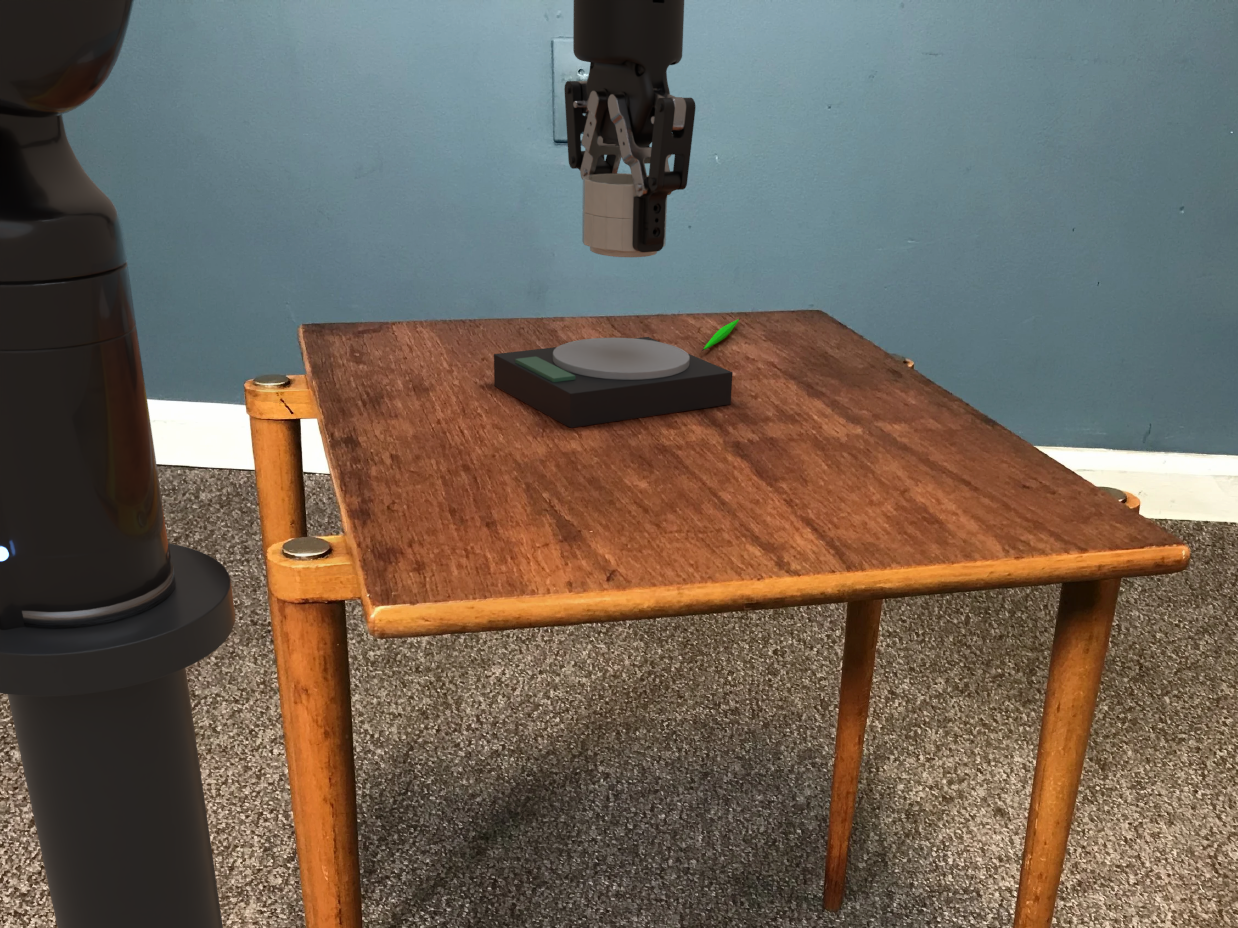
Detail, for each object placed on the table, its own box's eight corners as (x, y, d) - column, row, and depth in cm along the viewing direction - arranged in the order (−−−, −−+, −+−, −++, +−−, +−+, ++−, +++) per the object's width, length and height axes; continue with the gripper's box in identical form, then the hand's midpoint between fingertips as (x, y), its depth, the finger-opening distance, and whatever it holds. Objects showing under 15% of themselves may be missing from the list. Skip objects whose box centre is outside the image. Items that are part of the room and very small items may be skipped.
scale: (570, 428, 96) (570, 385, 95) (494, 386, 105) (493, 346, 104) (730, 404, 103) (733, 364, 102) (647, 366, 112) (648, 329, 111)
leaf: (744, 322, 127) (745, 314, 127) (705, 357, 115) (706, 347, 115) (735, 321, 127) (736, 313, 127) (695, 356, 115) (695, 346, 115)
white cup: (609, 261, 96) (610, 186, 94) (567, 246, 100) (568, 174, 98) (680, 255, 99) (683, 183, 97) (636, 241, 103) (638, 171, 101)
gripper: (529, -20, 95) (532, 229, 103) (638, -13, 84) (631, 264, 92) (621, -17, 99) (617, 224, 106) (736, -9, 88) (722, 257, 96)
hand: (623, 241), depth 99 cm, fingers closed on white cup, 6 cm apart
